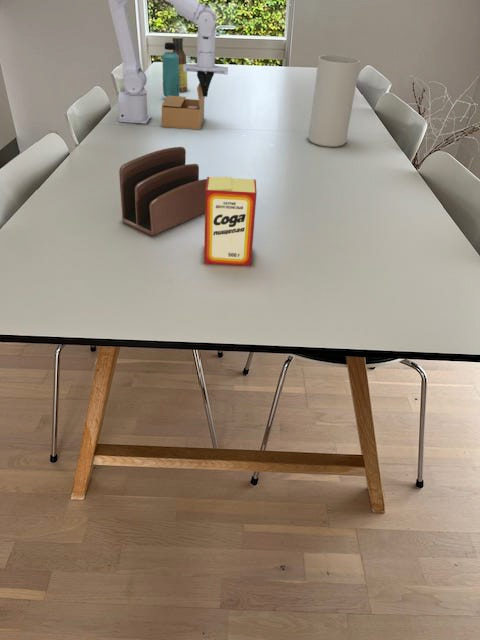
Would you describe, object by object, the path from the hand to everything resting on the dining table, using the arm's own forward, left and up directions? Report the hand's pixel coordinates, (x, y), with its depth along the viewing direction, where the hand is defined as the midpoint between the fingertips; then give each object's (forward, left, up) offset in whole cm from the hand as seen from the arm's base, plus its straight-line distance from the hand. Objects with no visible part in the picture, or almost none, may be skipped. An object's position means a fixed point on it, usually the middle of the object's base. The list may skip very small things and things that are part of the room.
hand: (205, 95), depth 180 cm
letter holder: (0, -75, -10) cm, 76 cm away
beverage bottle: (-16, +30, -10) cm, 35 cm away
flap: (-2, 0, +1) cm, 2 cm away
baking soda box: (+15, -92, -10) cm, 94 cm away
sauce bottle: (-15, +45, -10) cm, 48 cm away
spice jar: (-4, 0, -9) cm, 10 cm away
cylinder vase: (+42, -9, -10) cm, 44 cm away
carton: (-7, 0, -9) cm, 12 cm away
